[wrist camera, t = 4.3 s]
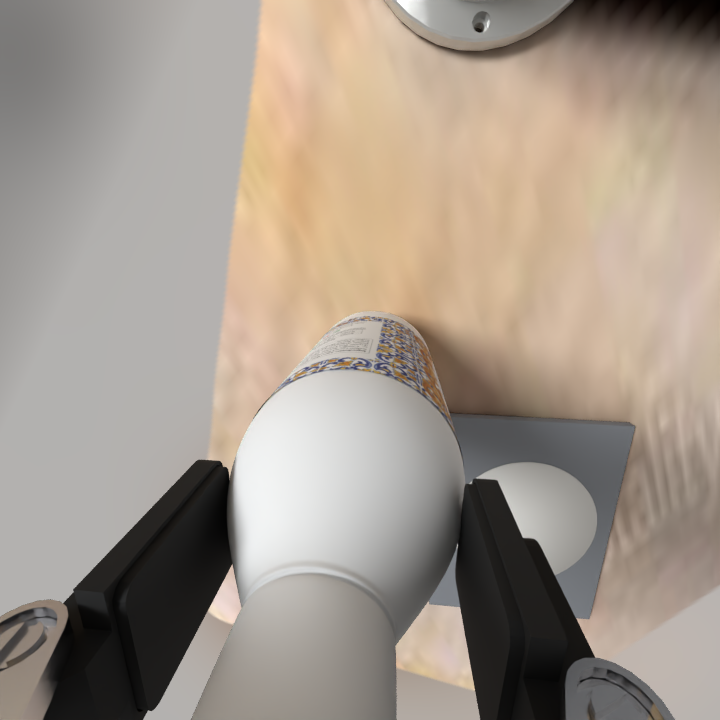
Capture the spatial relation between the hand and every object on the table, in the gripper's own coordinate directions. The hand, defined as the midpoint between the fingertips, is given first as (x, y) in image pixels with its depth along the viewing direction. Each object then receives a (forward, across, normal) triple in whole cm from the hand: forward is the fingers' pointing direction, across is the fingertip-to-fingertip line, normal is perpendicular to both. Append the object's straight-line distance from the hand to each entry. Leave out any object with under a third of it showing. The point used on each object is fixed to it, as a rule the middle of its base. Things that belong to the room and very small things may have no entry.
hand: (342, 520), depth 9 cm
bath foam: (+14, 0, 0) cm, 14 cm away
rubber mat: (+15, -11, +12) cm, 22 cm away
